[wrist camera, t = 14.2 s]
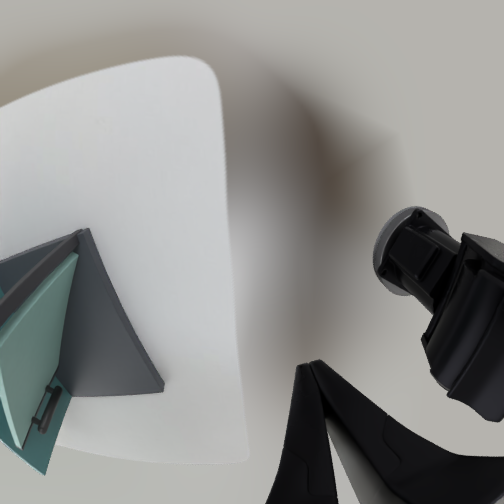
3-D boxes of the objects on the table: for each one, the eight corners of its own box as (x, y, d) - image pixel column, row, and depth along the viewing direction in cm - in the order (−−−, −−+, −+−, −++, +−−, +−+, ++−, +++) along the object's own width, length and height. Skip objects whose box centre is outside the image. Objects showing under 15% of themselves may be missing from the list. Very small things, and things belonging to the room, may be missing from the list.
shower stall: (88, 226, 19) (-12, 323, 8) (164, 383, 26) (152, 493, 15) (-7, 262, 19) (-84, 336, 8) (70, 389, 26) (40, 474, 14)
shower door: (97, 264, 19) (24, 368, 9) (71, 375, 23) (38, 459, 13) (71, 250, 18) (-12, 343, 8) (52, 364, 23) (15, 446, 13)
